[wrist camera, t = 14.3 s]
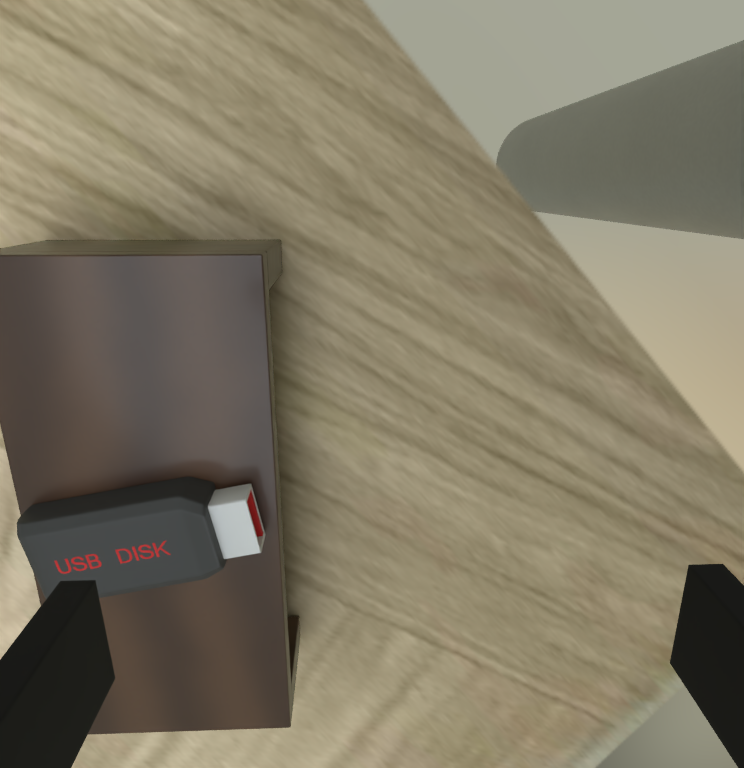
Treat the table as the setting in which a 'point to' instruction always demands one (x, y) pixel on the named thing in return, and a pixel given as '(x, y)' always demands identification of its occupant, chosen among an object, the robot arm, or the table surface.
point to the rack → (158, 452)
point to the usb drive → (141, 535)
